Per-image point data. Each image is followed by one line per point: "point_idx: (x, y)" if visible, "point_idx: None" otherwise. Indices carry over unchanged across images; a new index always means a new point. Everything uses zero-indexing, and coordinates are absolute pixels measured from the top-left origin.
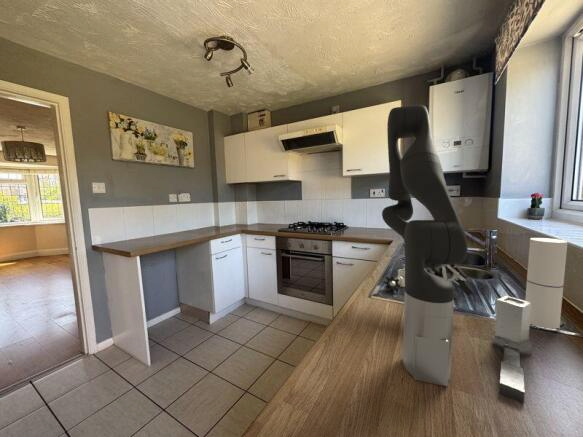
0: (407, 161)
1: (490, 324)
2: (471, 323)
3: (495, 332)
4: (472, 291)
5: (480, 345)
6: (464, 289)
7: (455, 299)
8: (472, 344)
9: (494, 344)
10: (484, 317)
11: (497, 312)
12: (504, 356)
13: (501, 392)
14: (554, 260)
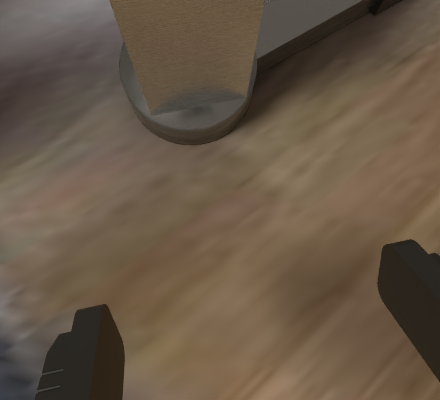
0: None
1: (70, 247)
2: (159, 286)
3: (246, 88)
4: (88, 315)
5: (305, 133)
6: (113, 395)
7: (408, 242)
8: (332, 148)
9: (242, 117)
10: (15, 316)
11: (263, 1)
12: (338, 11)
13: None
14: None
